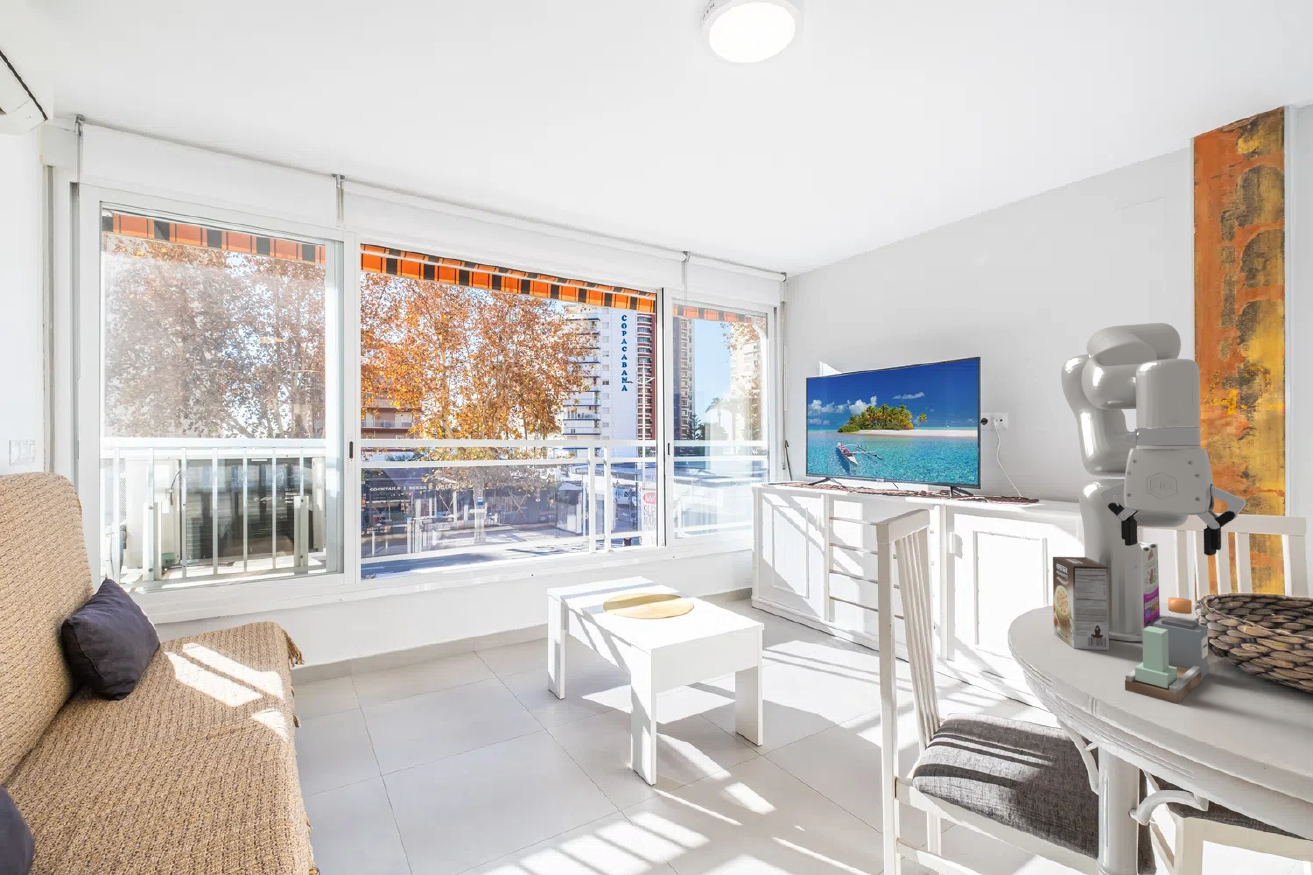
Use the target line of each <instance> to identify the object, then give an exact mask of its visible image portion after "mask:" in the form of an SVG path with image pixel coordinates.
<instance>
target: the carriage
mask: <svg viewBox="0 0 1313 875" xmlns="http://www.w3.org/2000/svg"><path fill="white" fill-rule="evenodd" d="M1146 627H1147V628H1145V629H1143V641H1142V662H1141V663H1139V664H1138V665H1136V666H1135V667H1134V669H1135V680H1137V681H1141V682H1145V683H1149V684H1153V685H1156V686H1160V687H1164V688H1169V686H1170V685H1172V684H1173V683H1174V682H1175V681H1176V680H1177V668H1176V667H1172V666H1169V656H1168V630H1167V629H1162V628H1157V627H1154V626H1153V625H1152V626H1151V625H1148V626H1146Z"/></svg>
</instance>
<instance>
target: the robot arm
mask: <svg viewBox="0 0 1313 875" xmlns="http://www.w3.org/2000/svg"><path fill="white" fill-rule="evenodd" d="M1181 349H1182V343H1181V337H1180V334H1179V332H1178V331H1177V329H1176V328H1175V327H1174V326H1173V325H1171V324H1168V323H1164V322H1153V323H1152V322H1151V323H1140V324H1127V325H1115V326H1109V327H1105V328H1102V329H1099V330H1098V331H1097V332H1095V333H1093V334H1092V336H1090V338H1089V339H1088V341H1087V345H1086V352H1087V353H1086V354H1080V355H1076V356H1072V357H1071V358H1069V359H1067V360H1066V361H1065V362H1064V363H1063V366H1062V367H1061V373H1060V374H1061V376H1060V379H1061V386H1062V390H1063V394H1064V397H1065V399H1066V401H1067V404H1068V406H1069V407H1070V409H1071V411H1072V413H1073V414H1074V417H1075V419H1076V423H1077V431H1078V432H1077V433H1078V439H1079V446H1080V455H1081V460H1082V464H1083V467H1084V469H1085V471H1086V472H1087V473H1089V474H1090V475H1093V476H1096V477H1097V476H1098V477H1106V478H1101V479H1093V480H1090V481H1088V482H1086V483H1085V484H1083V485H1082V486H1081V487H1080V488H1079V492H1078V504H1079V505H1078V506H1079V509H1080V514H1081V515H1080V516H1081V519H1082V525H1083V535H1084V536H1083V537H1084V538H1083V539H1084V540H1083V542H1084V557H1087V558H1089V559H1091V560H1093V561H1096V562H1098V563H1100V564H1102V565H1105V566H1107V567H1108V593H1109V640H1117V641H1123V642H1124V641H1125V642H1143V629H1145V628H1147V627H1148V626H1147V625H1144V598H1143V552H1142V548H1141V546H1140V544H1139V543H1138V527H1144V528H1146V527H1147V528H1177V527H1180V526H1183V525H1184V524H1185V523H1186V522H1187V520H1188V518H1189V516H1197V517H1198V518H1199V519H1201V521H1203V523H1204V524H1206V527H1205V528H1203V555H1205V556H1208V557H1209V556H1214V555H1216V554H1217V551H1220V550H1221V549H1222V528H1223V527H1224V526H1225V525H1228V524H1229V523H1230V522H1231V521H1233V520H1235V519H1236V518H1237V517H1238V515H1239V514H1240V513H1241V511H1242V510H1243V509H1244V508H1245V506H1246V505H1247V500H1246V499H1244V498H1242V497H1240V496H1238V495H1235V494H1232V493H1230V492H1228V491H1225V490H1223V489H1221V488H1219V487H1216V486H1214V482H1213V480H1214V479H1213V474H1212V467H1211V463H1210V457H1209V455H1208V451H1207V449H1206V448H1201V406H1200V405H1201V404H1200V403H1201V398H1200V396H1201V394H1200V389H1201V388H1200V385H1201V383H1200V381H1201V380H1200V367H1199V365H1198V362H1196V361H1195V360H1193V359H1189V358H1179V357H1180V353H1181ZM1123 410H1135V412H1136V413H1135V416H1136V424H1135V425H1136V428H1134V431H1129V429H1128V428H1127V421H1126V415H1125V413H1124V412H1123ZM1107 477H1110V478H1107ZM1215 498H1216V499H1218V500H1220V501H1222V502H1224V503H1226V504H1227V505H1228V507H1227V509H1226V510H1225V511H1224V512H1223V513H1221V514H1219V515H1218V514H1217V513H1215V511H1214V507H1215Z"/></svg>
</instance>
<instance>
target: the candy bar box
mask: <svg viewBox="0 0 1313 875" xmlns="http://www.w3.org/2000/svg"><path fill="white" fill-rule="evenodd" d="M1137 541H1138V540H1137ZM1138 543H1139V544H1140V546H1141V548H1142V552H1143V598H1144V626H1147V625H1148V624H1149V623H1151V622H1152V621H1154V620H1155V619H1157V618H1158V617H1160V616H1161V613H1160V612H1161V609H1160V583H1159V582H1160V581H1159V558H1158V557H1159V554H1158V551H1159V550H1158V543H1156V542H1147V541H1138Z"/></svg>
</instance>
